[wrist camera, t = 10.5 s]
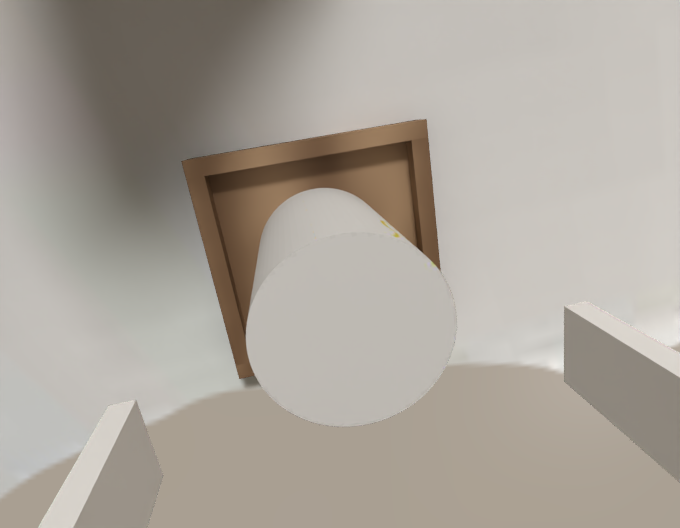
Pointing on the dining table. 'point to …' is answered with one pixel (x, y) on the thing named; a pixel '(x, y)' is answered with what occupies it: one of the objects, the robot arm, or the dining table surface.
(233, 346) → the tray
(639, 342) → the robot arm
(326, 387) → the grey upright rounded piece
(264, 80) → the dining table surface
